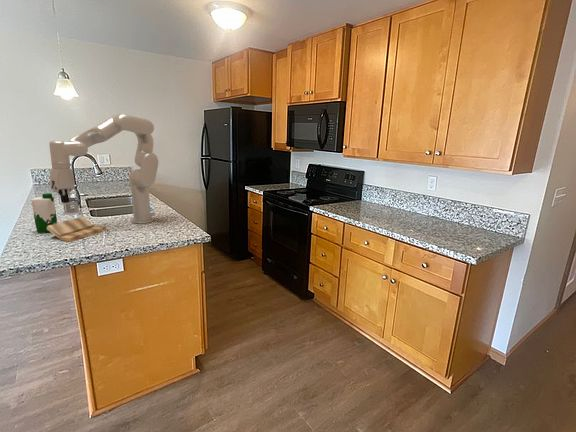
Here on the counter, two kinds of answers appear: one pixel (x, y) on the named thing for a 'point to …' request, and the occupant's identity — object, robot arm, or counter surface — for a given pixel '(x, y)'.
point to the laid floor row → (82, 233)
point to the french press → (68, 208)
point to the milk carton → (44, 212)
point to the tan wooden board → (69, 226)
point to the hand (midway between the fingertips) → (65, 202)
